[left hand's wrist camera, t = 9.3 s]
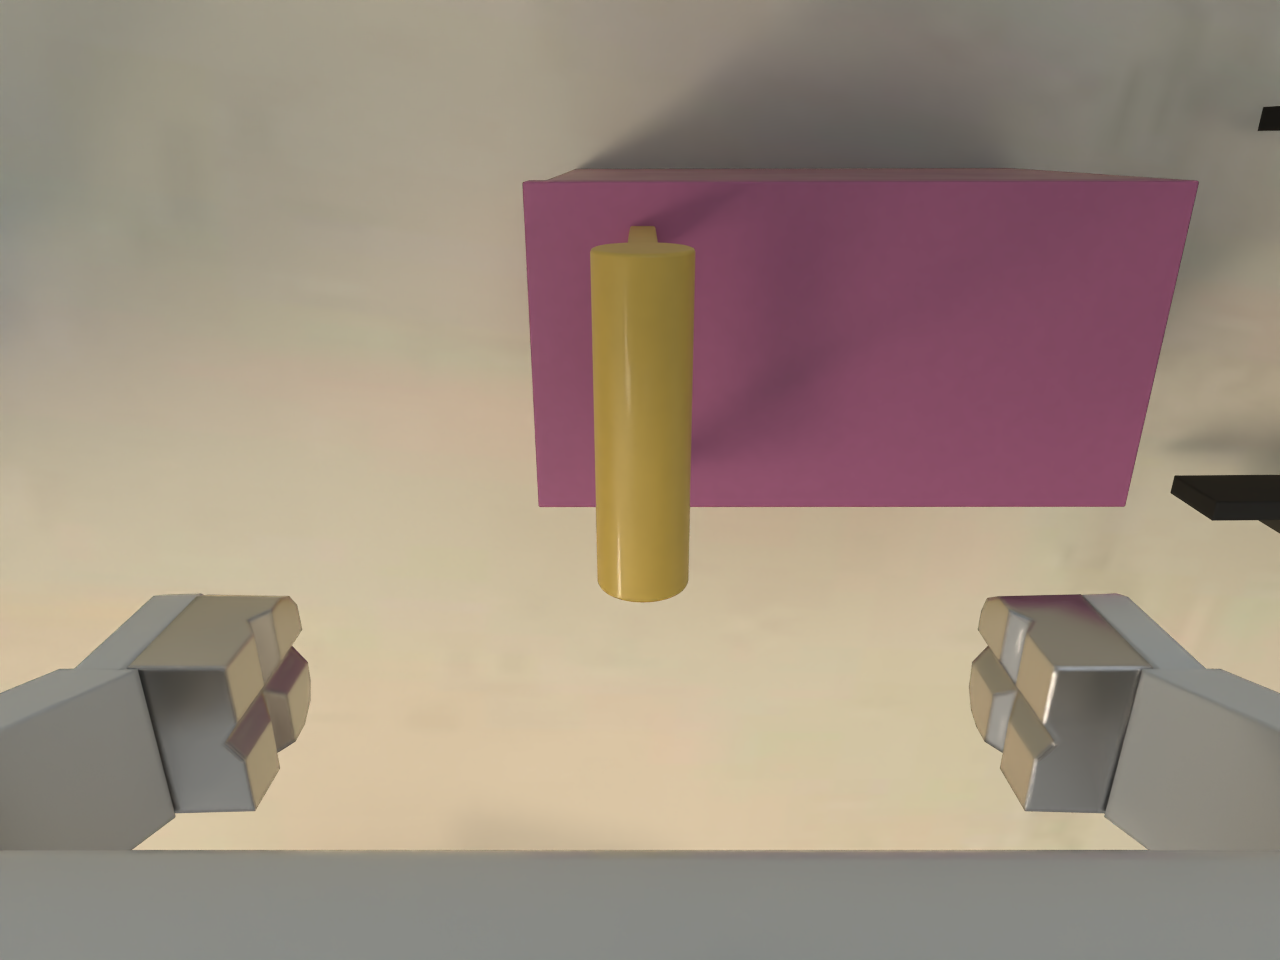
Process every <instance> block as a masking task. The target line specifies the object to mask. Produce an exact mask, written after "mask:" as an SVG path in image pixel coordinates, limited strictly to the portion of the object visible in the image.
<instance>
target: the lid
mask: <svg viewBox="0 0 1280 960" xmlns="http://www.w3.org/2000/svg"><path fill="white" fill-rule="evenodd" d="M1198 184H1199V182H1198V181H1194V180H1179V179H1067V180H529V181H526V182H523V202H524V222H525V242H526V262H527V282H528V302H529V322H530V342H531V362H532V382H533V402H534V422H535V442H536V462H537V482H538V502H539V507H596V529H597V573H598V583H599V585H600V587H601V588H602V590H603V591H605V592H606V593H607V594H609V595H611V596H613V597H615V598H618V599H621V600H625V601H631V602H655V601H661V600H665V599H668V598H671V597H673V596H675V595H677V594H679V593H680V592H681V591H683V589H684V588H685V587H686V585H687V583H688V571H689V524H690V507H1124V506H1125V504H1126V500H1127V495H1128V491H1129V486H1130V482H1131V478H1132V473H1133V469H1134V464H1135V460H1136V456H1137V451H1138V447H1139V443H1140V438H1141V434H1142V429H1143V425H1144V421H1145V416H1146V412H1147V407H1148V403H1149V399H1150V394H1151V390H1152V385H1153V381H1154V377H1155V372H1156V368H1157V364H1158V359H1159V355H1160V350H1161V346H1162V342H1163V337H1164V333H1165V328H1166V324H1167V320H1168V315H1169V311H1170V307H1171V302H1172V298H1173V293H1174V289H1175V285H1176V280H1177V276H1178V271H1179V267H1180V263H1181V258H1182V254H1183V249H1184V245H1185V241H1186V236H1187V232H1188V228H1189V223H1190V219H1191V214H1192V210H1193V206H1194V201H1195V197H1196V192H1197V188H1198Z"/></svg>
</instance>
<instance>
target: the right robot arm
mask: <svg viewBox="0 0 1280 960" xmlns="http://www.w3.org/2000/svg"><path fill="white" fill-rule="evenodd" d="M1258 131H1280V106H1274V107H1263V111H1262V115H1261V119H1260V123H1259V127H1258ZM1171 494H1173V495H1174V496H1176V497H1178V498H1179V499H1181V500H1182V501H1184V502H1185V503H1187V504H1188V505H1190V506H1191V507H1193V508H1194V509H1196V510H1197V511H1199V512H1200V513H1202V514H1203V515H1205V516H1206V517H1208V518H1209V519H1211V520H1259V521H1260V522H1262V523H1264V524H1265V525H1267V526H1269V527H1270V528H1272V529H1274V530H1275V531H1277V532H1278V533H1280V475H1200V476H1175V477H1174V481H1173V485H1172V489H1171Z"/></svg>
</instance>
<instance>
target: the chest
mask: <svg viewBox="0 0 1280 960" xmlns="http://www.w3.org/2000/svg"><path fill="white" fill-rule="evenodd" d="M1067 179H1164V178H1149V177H1134V176H1119V175H1105V174H1090V173H1075V172H1060V171H1045V170H1030V169H1015V168H847V169H574V170H572V171H569V172H567V173H564V174H562V175H559V176H556V177H554V178H551V179H549V180H1067Z"/></svg>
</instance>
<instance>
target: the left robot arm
mask: <svg viewBox="0 0 1280 960" xmlns="http://www.w3.org/2000/svg"><path fill="white" fill-rule="evenodd" d="M301 631H302V626H301V621H300V617H299V612H298V607H297V604H296V603H295V602H294V601H293V600H292V599H291V598H290V596H260V595H203V594H167V595H157V596H153V597H152V598H151V599H150V600H149V601H147V602H146V603H145V604H144V605H143V606H142V607H141V608H140V609H139V610H138V611H137V612H135V613H134V614H133V615H132V616H131V617H130V618H129V619H128V620H127V621H126V622H125V623H124V624H122V625H121V626H120V627H119V628H118V629H117V630H116V631H115V632H114V633H113V634H112V635H110V636H109V637H108V638H107V639H106V640H105V641H104V642H103V643H102V644H101V645H100V646H98V647H97V648H96V649H95V650H94V651H93V652H92V653H91V654H90V655H89V656H88V657H86V658H85V659H84V660H83V661H82V662H81V663H80V664H79V665H78V666H77V667H76V668H74V669H58V670H56V671H53V672H51V673H49V674H46V675H44V676H41V677H39V678H36V679H34V680H31V681H29V682H26V683H24V684H22V685H19V686H17V687H14V688H12V689H9V690H7V691H4V692H2V693H0V960H1280V693H1278V692H1275V691H1273V690H1271V689H1268V688H1266V687H1263V686H1261V685H1258V684H1256V683H1253V682H1251V681H1249V680H1246V679H1244V678H1241V677H1239V676H1236V675H1234V674H1231V673H1229V672H1227V671H1224V670H1222V669H1206V668H1205V667H1203V666H1202V665H1201V664H1200V663H1199V662H1198V661H1197V660H1196V659H1195V658H1194V657H1193V656H1192V655H1190V654H1189V653H1188V652H1187V651H1186V650H1185V649H1184V648H1183V647H1182V646H1181V645H1180V644H1178V643H1177V642H1176V641H1175V640H1174V639H1173V638H1172V637H1171V636H1170V635H1169V634H1168V633H1166V632H1165V631H1164V630H1163V629H1162V628H1161V627H1160V626H1159V625H1158V624H1157V623H1156V622H1155V621H1153V620H1152V619H1151V618H1150V617H1149V616H1148V615H1147V614H1146V613H1145V612H1144V611H1143V610H1141V609H1140V608H1139V607H1138V606H1137V605H1136V604H1135V603H1134V602H1133V601H1132V600H1131V599H1130V598H1128V597H1126V596H1123V595H1120V594H1116V593H1114V594H1091V595H1081V594H1078V595H1036V596H997V597H991V598H987V600H986V602H985V604H984V606H983V608H982V610H981V615H980V620H979V626H978V631H979V632H980V634H981V635H982V637H983V638H984V640H985V642H986V643H987V645H988V646H987V647H986V648H985V650H984V651H983V652H982V653H981V654H980V655H979V656H978V657H977V658H976V659H975V660H974V661H973V662H972V668H971V675H970V683H969V693H970V704H971V711H972V714H973V718H974V721H975V724H976V727H977V729H978V730H979V732H980V734H981V736H982V738H983V740H984V741H985V742H986V743H988V744H989V745H991V746H993V747H994V748H996V749H997V750H999V751H1001V752H1002V753H1003V755H1002V760H1001V765H1000V769H1001V771H1002V773H1003V774H1004V776H1005V778H1006V779H1007V781H1008V783H1009V785H1010V786H1011V788H1012V790H1013V791H1014V793H1015V795H1016V797H1017V798H1018V800H1019V802H1020V803H1021V805H1022V807H1023V808H1024V810H1025V811H1042V812H1079V813H1105V815H1104V817H1105V818H1107V819H1108V820H1109V821H1111V822H1112V823H1113V824H1115V825H1116V826H1117V827H1119V828H1120V829H1121V830H1123V831H1124V832H1125V833H1127V834H1128V835H1129V836H1131V837H1132V838H1133V839H1135V840H1136V841H1137V842H1139V843H1140V844H1141V845H1143V846H1144V847H1145V848H1147V849H1148V850H132V849H134V848H135V847H136V846H138V845H139V844H140V843H142V842H143V841H144V840H146V839H147V838H148V837H150V836H151V835H152V834H154V833H155V832H156V831H158V830H159V829H160V828H162V827H163V826H164V825H166V824H167V823H168V822H170V821H171V820H172V819H174V818H175V813H200V812H236V811H255V810H256V809H257V807H258V805H259V804H260V802H261V800H262V798H263V797H264V795H265V793H266V792H267V790H268V788H269V786H270V785H271V783H272V781H273V780H274V778H275V776H276V774H277V773H278V771H279V769H280V765H279V760H278V754H277V753H278V752H279V751H281V750H283V749H284V748H286V747H287V746H289V745H291V744H292V743H294V742H295V741H296V740H297V738H298V736H299V734H300V732H301V730H302V728H303V727H304V725H305V721H306V717H307V713H308V709H309V704H310V693H311V680H310V673H309V667H308V662H307V661H306V660H305V659H304V658H303V657H302V656H301V655H300V654H299V653H298V652H297V651H296V650H295V648H294V647H293V646H292V645H293V643H294V642H295V640H296V638H297V637H298V635H299V634H300V632H301Z"/></svg>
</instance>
